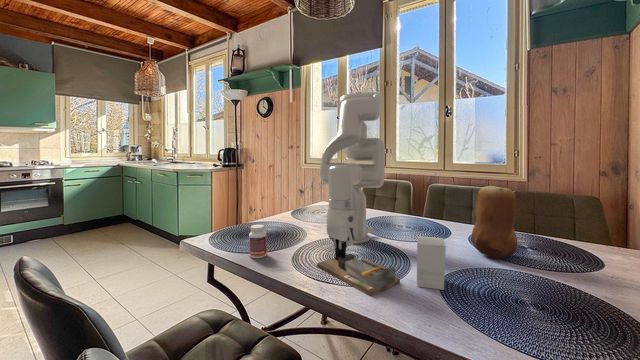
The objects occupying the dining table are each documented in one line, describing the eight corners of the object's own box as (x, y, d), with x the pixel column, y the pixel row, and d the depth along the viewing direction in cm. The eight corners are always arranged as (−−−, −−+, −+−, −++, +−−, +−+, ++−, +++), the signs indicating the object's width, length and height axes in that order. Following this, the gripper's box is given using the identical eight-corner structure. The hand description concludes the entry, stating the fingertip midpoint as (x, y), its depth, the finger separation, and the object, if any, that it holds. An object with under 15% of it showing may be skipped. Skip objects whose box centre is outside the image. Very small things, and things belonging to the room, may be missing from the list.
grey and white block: (350, 262, 97) (350, 253, 97) (380, 276, 87) (380, 266, 86) (338, 266, 94) (338, 257, 94) (368, 281, 84) (368, 271, 83)
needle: (379, 277, 86) (379, 265, 86) (384, 279, 85) (384, 267, 84) (359, 285, 82) (359, 272, 81) (364, 287, 80) (365, 274, 80)
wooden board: (344, 258, 105) (344, 243, 104) (399, 283, 86) (400, 265, 85) (317, 266, 98) (316, 251, 97) (370, 296, 78) (370, 277, 78)
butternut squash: (512, 252, 108) (517, 184, 105) (519, 266, 96) (525, 190, 93) (469, 247, 114) (473, 182, 111) (471, 260, 102) (475, 187, 99)
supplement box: (442, 279, 88) (444, 237, 86) (444, 290, 81) (446, 246, 79) (416, 275, 90) (417, 235, 89) (415, 286, 83) (417, 243, 82)
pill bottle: (269, 256, 107) (268, 226, 106) (253, 260, 103) (252, 229, 102) (263, 251, 112) (262, 222, 111) (247, 254, 109) (245, 225, 107)
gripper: (365, 206, 91) (365, 263, 93) (334, 199, 103) (334, 250, 105) (347, 209, 86) (347, 270, 89) (317, 201, 98) (317, 255, 101)
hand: (340, 259), depth 97 cm, fingers closed
